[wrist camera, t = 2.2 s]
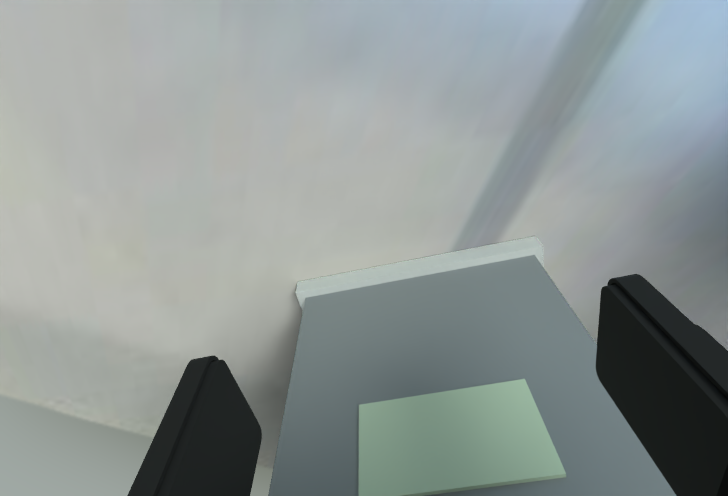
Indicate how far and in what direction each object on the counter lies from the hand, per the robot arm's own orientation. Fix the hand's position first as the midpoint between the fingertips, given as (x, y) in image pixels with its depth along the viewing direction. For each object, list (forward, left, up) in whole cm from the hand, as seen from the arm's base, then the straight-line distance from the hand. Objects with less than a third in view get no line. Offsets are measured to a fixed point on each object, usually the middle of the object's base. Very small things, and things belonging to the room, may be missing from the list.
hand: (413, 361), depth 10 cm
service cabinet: (-1, +9, -15) cm, 17 cm away
